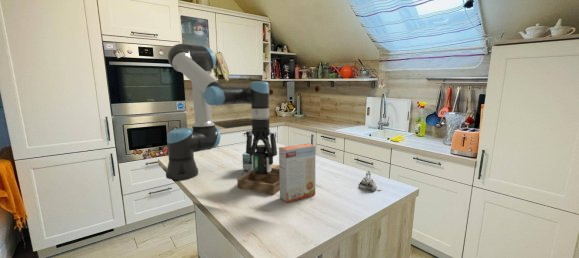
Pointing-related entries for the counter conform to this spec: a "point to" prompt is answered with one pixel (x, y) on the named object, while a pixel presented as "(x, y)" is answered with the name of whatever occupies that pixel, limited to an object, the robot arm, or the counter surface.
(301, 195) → the cracker box
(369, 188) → the grey lumpy piece
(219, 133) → the robot arm
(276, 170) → the lid
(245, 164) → the light bulb box
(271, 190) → the brown wooden drawer
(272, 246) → the counter surface
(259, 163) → the supplement bottle
